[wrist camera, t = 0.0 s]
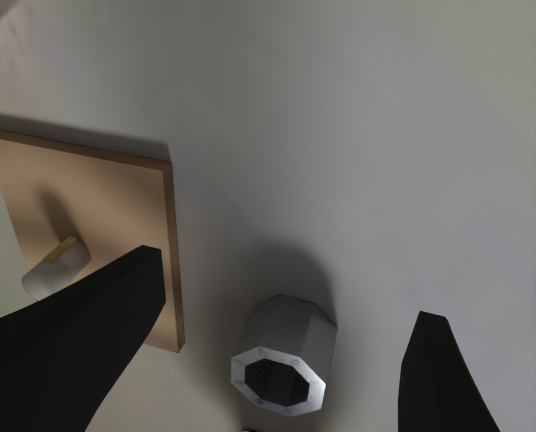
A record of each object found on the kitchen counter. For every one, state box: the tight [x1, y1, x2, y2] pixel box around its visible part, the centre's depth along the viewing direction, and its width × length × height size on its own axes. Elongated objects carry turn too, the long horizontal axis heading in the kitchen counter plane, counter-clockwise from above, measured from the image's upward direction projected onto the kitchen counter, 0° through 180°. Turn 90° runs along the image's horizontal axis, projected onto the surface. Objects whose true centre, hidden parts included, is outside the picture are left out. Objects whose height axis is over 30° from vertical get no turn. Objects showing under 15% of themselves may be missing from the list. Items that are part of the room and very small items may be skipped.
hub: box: [231, 295, 338, 417], centre depth 25 cm, size 5×5×4 cm
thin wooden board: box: [0, 130, 185, 353], centre depth 26 cm, size 14×11×4 cm
